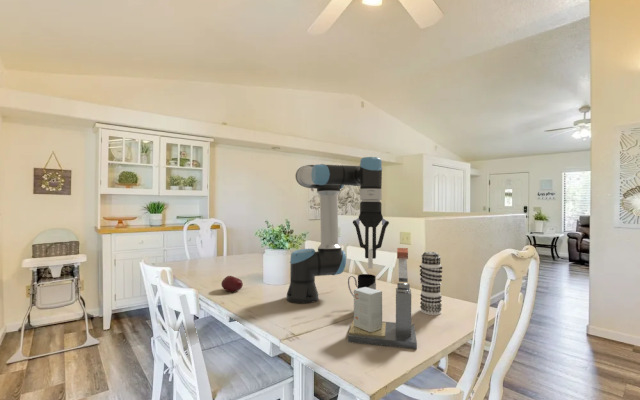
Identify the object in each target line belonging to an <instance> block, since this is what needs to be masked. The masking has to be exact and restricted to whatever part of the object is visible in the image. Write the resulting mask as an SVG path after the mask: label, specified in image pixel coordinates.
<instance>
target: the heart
mask: <svg viewBox="0 0 640 400" xmlns="http://www.w3.org/2000/svg"><path fill="white" fill-rule="evenodd" d="M222 279H223V280H221V287H222V289H224V290H225V291H226V292H229V293H235V291H236V292H238V291H240V290H241V289H242V288H243V286H244V283H243V280H241V278H238V277H235V276H232V275H227V276H226V277H224V278H222Z"/></svg>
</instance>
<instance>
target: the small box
mask: <svg viewBox="0 0 640 400" xmlns="http://www.w3.org/2000/svg"><path fill="white" fill-rule="evenodd" d="M353 295H354V297H353V320H354V326H356V327H358V328H360V329H363V330H365V331H368V332H370V333H371V332H374V331H376V330H379V329H381V328H382V321H383V291H382V290H379V289H376V290H375V289H371V288H368V287H363V288H358V289H357V288H354V289H353Z"/></svg>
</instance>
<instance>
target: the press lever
mask: <svg viewBox="0 0 640 400" xmlns="http://www.w3.org/2000/svg"><path fill="white" fill-rule="evenodd" d="M396 251H397V252H396V253H397V254H396V257H397V259H398V282H397V284H396V285H397V287H396V288H397V290H410V289H411V288H410V283H408V259H409V249H408V248H406V247H397V250H396Z"/></svg>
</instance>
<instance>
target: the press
mask: <svg viewBox="0 0 640 400" xmlns="http://www.w3.org/2000/svg"><path fill="white" fill-rule="evenodd" d="M416 335H417V334H416V327H415V324H414V323H412V290H411V288H410V290H397V287H396V288H395V322H392V321H383V320H382V328H381V329H379V330H376V331H374V332H371V333H370V332H368V331H365V330H363V329H360V328H358V327H356V326H354V319H353V320H352V323H351V325H350V327H349V330H348V335H347V342H348V343H352V342H353V344H365V345H372V346H373V345H374V346H382V347H391V348H400V349H401V348H403V349H410V350H411V349H412V350H417V349H418V342H417V336H416Z"/></svg>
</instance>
